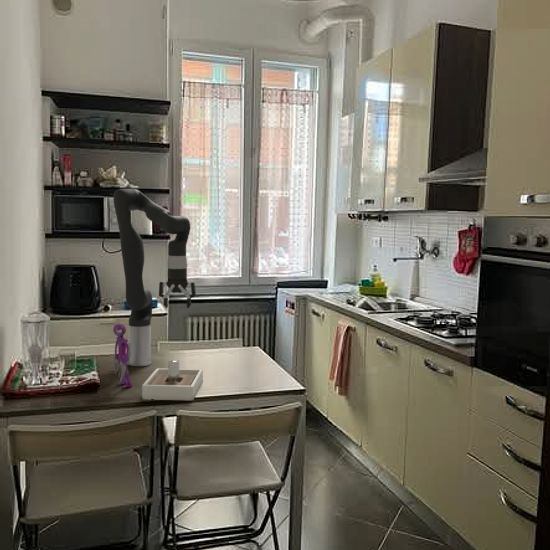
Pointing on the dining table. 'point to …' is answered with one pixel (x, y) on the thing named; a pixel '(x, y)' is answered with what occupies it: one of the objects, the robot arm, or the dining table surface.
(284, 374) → the dining table surface
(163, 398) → the box
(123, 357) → the toy
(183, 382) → the bore plate
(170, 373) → the peg
